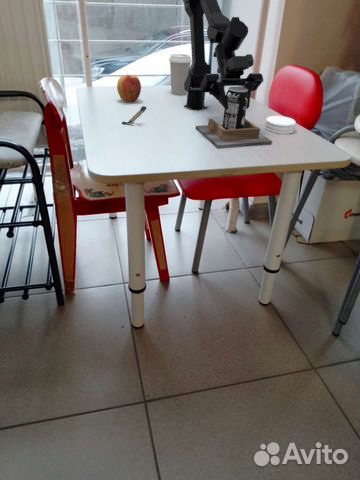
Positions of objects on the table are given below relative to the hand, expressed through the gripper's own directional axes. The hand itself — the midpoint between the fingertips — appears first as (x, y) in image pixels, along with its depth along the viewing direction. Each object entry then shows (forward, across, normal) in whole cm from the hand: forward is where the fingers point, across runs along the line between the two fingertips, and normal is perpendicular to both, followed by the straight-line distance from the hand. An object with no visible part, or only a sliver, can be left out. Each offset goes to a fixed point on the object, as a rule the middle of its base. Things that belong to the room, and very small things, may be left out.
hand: (237, 108), depth 107 cm
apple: (-26, -24, +40) cm, 53 cm away
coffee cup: (-33, 0, +47) cm, 57 cm away
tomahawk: (-12, -24, +25) cm, 37 cm away
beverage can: (+4, 0, +6) cm, 7 cm away
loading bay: (+6, 0, +7) cm, 9 cm away
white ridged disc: (+4, +19, +10) cm, 22 cm away
